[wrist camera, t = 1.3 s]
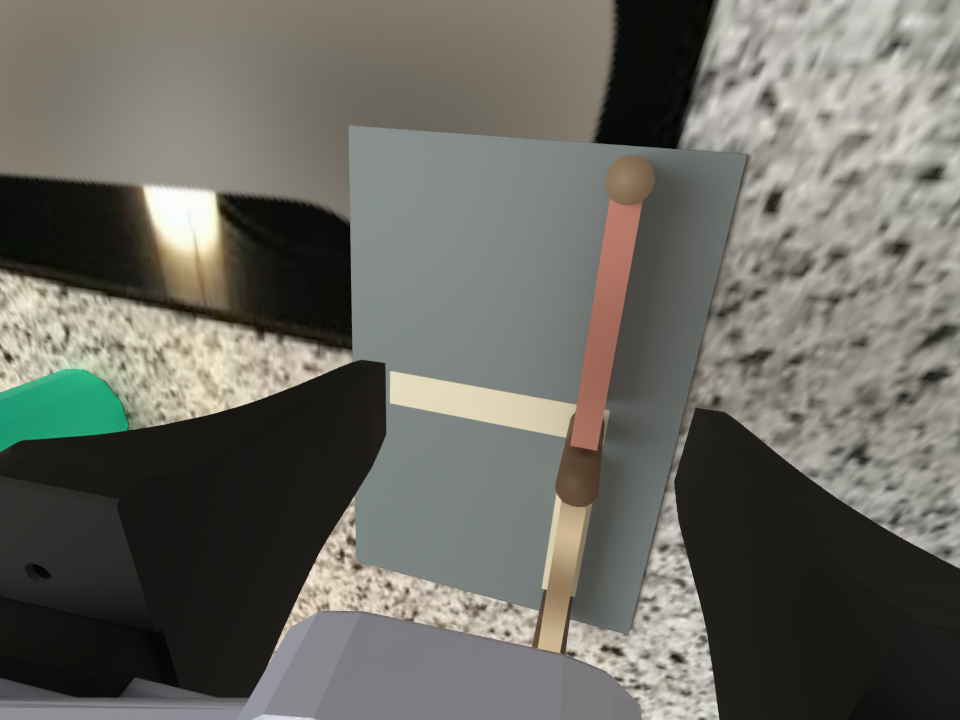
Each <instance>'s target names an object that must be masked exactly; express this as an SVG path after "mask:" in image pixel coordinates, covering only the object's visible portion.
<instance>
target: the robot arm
mask: <svg viewBox="0 0 960 720" xmlns="http://www.w3.org/2000/svg"><path fill="white" fill-rule="evenodd" d="M385 437H386V363H382V362H375V361H368V360H358V361H355V362H352V363H349V364H347V365H344V366H342V367H339V368H337V369H335V370H332V371H330V372H328V373H325V374H323V375H321V376H318V377H316V378H314V379H311V380H309V381H307V382H304V383H302V384H300V385H297V386H295V387H292V388H289V389H287V390H284V391H281V392H279V393H276V394H274V395H271V396H268V397H266V398H263V399H261V400H258V401H255V402H252V403H249V404H246V405H242V406H239V407H236V408H232V409H229V410H225V411H222V412H218V413H215V414H211V415H207V416H202V417H198V418H193V419H188V420H184V421H179V422H174V423H170V424H165V425H160V426H154V427H148V428H142V429H136V430H129V431H121V432H114V433H106V434H97V435H87V436H74V437H61V438H48V439H34V440H22V441H19V442H17V443H15V444H13V445H11V446H10V447H8V448H6V449H4V450H3V451H1V452H0V720H642V719H641V710H640V705H639V704H638V703H637V702H636V701H635V700H634V699H633V697H632V696H631V695H630V694H629V693H628V692H627V691H626V690H625V689H624V688H623V687H622V686H621V685H620V684H619V683H618V682H617V681H616V680H615V679H614V678H613V677H612V676H611V675H610V674H608V673H607V672H606V671H604V670H602V669H599V668H597V667H594V666H592V665H589V664H587V663H584V662H582V661H579V660H577V659H574V658H572V657H570V656H567V655H565V654H562V653H557V652H552V651H548V650H543V649H538V648H533V647H529V646H524V645H519V644H515V643H510V642H505V641H500V640H496V639H491V638H486V637H482V636H477V635H472V634H468V633H463V632H458V631H453V630H449V629H444V628H439V627H435V626H430V625H425V624H420V623H416V622H411V621H406V620H402V619H397V618H392V617H388V616H383V615H378V614H373V613H369V612H361V611H322V612H317V613H316V614H314V615H312V616H310V617H308V618H307V619H305V620H303V621H301V622H299V623H298V624H296V625H294V626H292V627H290V629H289V630H288V632H287V634H286V635H285V637H284V639H283V641H282V642H281V644H280V646H279V648H278V649H277V651H276V653H275V655H274V656H273V658H272V660H271V662H270V663H269V661H270V658H271V656H272V654H273V651H274V649H275V647H276V644H277V642H278V640H279V637H280V635H281V633H282V630H283V628H284V626H285V624H286V622H287V620H288V617H289V615H290V613H291V611H292V609H293V606H294V604H295V602H296V600H297V598H298V595H299V593H300V591H301V589H302V587H303V585H304V583H305V581H306V579H307V577H308V575H309V573H310V571H311V569H312V567H313V564H314V562H315V560H316V558H317V556H318V554H319V553H320V551H321V549H322V547H323V546H324V544H325V542H326V540H327V539H328V537H329V535H330V534H331V532H332V531H333V529H334V527H335V526H336V524H337V523H338V521H339V520H340V518H341V516H342V515H343V513H344V512H345V510H346V508H347V507H348V505H349V504H350V502H351V501H352V499H353V497H354V496H355V494H356V493H357V491H358V490H359V488H360V486H361V485H362V483H363V481H364V480H365V478H366V477H367V475H368V473H369V472H370V470H371V468H372V466H373V464H374V462H375V460H376V458H377V456H378V453H379V451H380V449H381V446H382V444H383V442H384V439H385ZM674 484H675V494H676V504H677V512H678V520H679V524H680V528H681V532H682V536H683V540H684V544H685V548H686V552H687V555H688V559H689V563H690V567H691V570H692V574H693V578H694V582H695V585H696V589H697V593H698V596H699V600H700V604H701V608H702V611H703V616H704V621H705V625H706V630H707V635H708V642H709V648H710V655H711V661H712V668H713V675H714V681H715V689H716V697H717V705H718V712H719V720H960V569H959V568H957V567H955V566H953V565H951V564H949V563H947V562H945V561H943V560H941V559H939V558H938V557H936V556H934V555H932V554H930V553H928V552H926V551H924V550H923V549H921V548H919V547H917V546H915V545H913V544H911V543H910V542H908V541H906V540H904V539H902V538H900V537H899V536H897V535H895V534H893V533H892V532H890V531H888V530H886V529H885V528H883V527H881V526H880V525H878V524H876V523H875V522H873V521H872V520H870V519H868V518H867V517H865V516H864V515H862V514H860V513H859V512H857V511H856V510H854V509H852V508H851V507H849V506H848V505H846V504H845V503H843V502H842V501H840V500H839V499H837V498H836V497H834V496H833V495H831V494H830V493H829V492H827V491H826V490H824V489H823V488H822V487H820V486H819V485H817V484H816V483H815V482H813V481H812V480H811V479H809V478H808V477H806V476H805V475H804V474H802V473H801V472H800V471H799V470H797V469H796V468H795V467H793V466H792V465H791V464H789V463H788V462H787V461H786V460H784V459H783V458H782V457H781V456H779V455H778V454H777V453H776V452H774V451H773V450H772V449H771V448H770V447H768V446H767V445H766V444H765V443H763V442H762V441H761V440H760V439H759V438H757V437H756V436H755V435H754V434H753V433H751V432H750V431H749V430H748V429H746V428H745V427H744V426H743V425H741V424H740V423H739V422H738V421H736V420H735V419H734V418H732V417H731V416H730V415H728V414H727V413H725V412H720V411H713V410H706V409H699V408H695V412H694V415H693V419H692V422H691V425H690V429H689V432H688V436H687V439H686V443H685V446H684V450H683V453H682V457H681V460H680V463H679V467H678V470H677V474H676V477H675V481H674ZM268 663H269V665H268ZM267 665H268V667H267Z"/></svg>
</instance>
